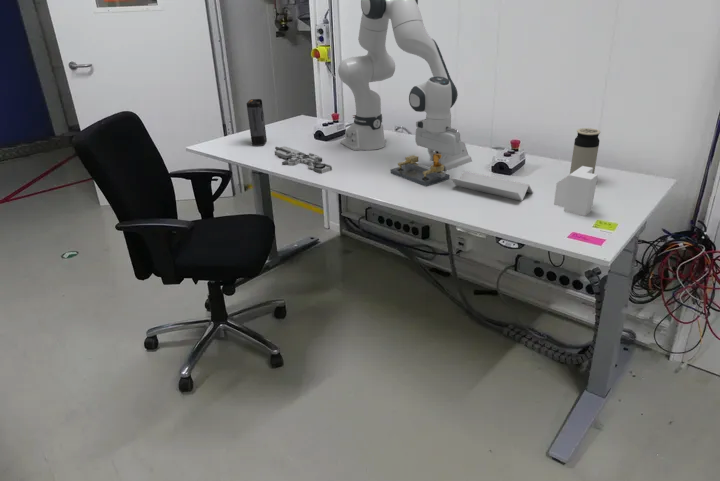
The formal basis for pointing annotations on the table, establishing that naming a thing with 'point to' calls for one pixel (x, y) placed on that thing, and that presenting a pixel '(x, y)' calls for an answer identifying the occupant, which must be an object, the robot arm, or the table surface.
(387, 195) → the table surface
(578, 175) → the corner bracket
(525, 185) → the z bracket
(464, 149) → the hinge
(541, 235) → the table surface
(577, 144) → the travel mug
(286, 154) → the gun
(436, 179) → the bolt plate
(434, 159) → the sliding leg
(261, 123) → the electronic device
